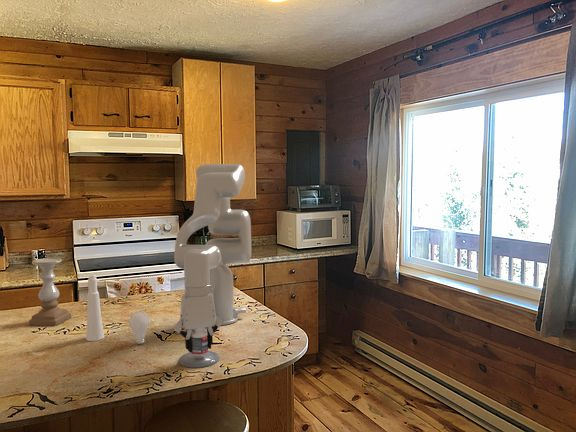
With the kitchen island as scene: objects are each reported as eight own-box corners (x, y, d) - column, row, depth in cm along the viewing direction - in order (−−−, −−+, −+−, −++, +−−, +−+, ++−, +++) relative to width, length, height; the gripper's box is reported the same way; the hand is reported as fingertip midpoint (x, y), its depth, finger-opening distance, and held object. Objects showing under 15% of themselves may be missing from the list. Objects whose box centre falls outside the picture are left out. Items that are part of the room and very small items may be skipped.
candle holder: (71, 317, 191) (68, 257, 188) (55, 326, 180) (52, 263, 177) (45, 316, 192) (42, 257, 189) (28, 325, 181) (24, 262, 178)
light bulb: (139, 349, 156) (137, 316, 155) (125, 345, 160) (124, 312, 158) (154, 342, 162) (153, 310, 161) (141, 339, 165) (139, 307, 164)
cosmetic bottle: (81, 340, 165) (78, 276, 163) (94, 334, 170) (91, 273, 168) (96, 342, 163) (92, 278, 161) (108, 336, 168) (105, 274, 166)
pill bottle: (204, 357, 144) (203, 328, 143) (187, 356, 145) (187, 327, 144) (210, 350, 149) (210, 322, 148) (194, 349, 150) (193, 321, 149)
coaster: (212, 349, 155) (212, 347, 155) (224, 363, 144) (224, 361, 144) (175, 356, 150) (175, 354, 150) (184, 370, 139) (184, 368, 139)
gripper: (221, 284, 152) (222, 340, 154) (166, 291, 145) (168, 349, 146) (228, 290, 145) (230, 348, 147) (171, 297, 138) (173, 358, 140)
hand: (199, 348), depth 147 cm, fingers closed on pill bottle, 5 cm apart
